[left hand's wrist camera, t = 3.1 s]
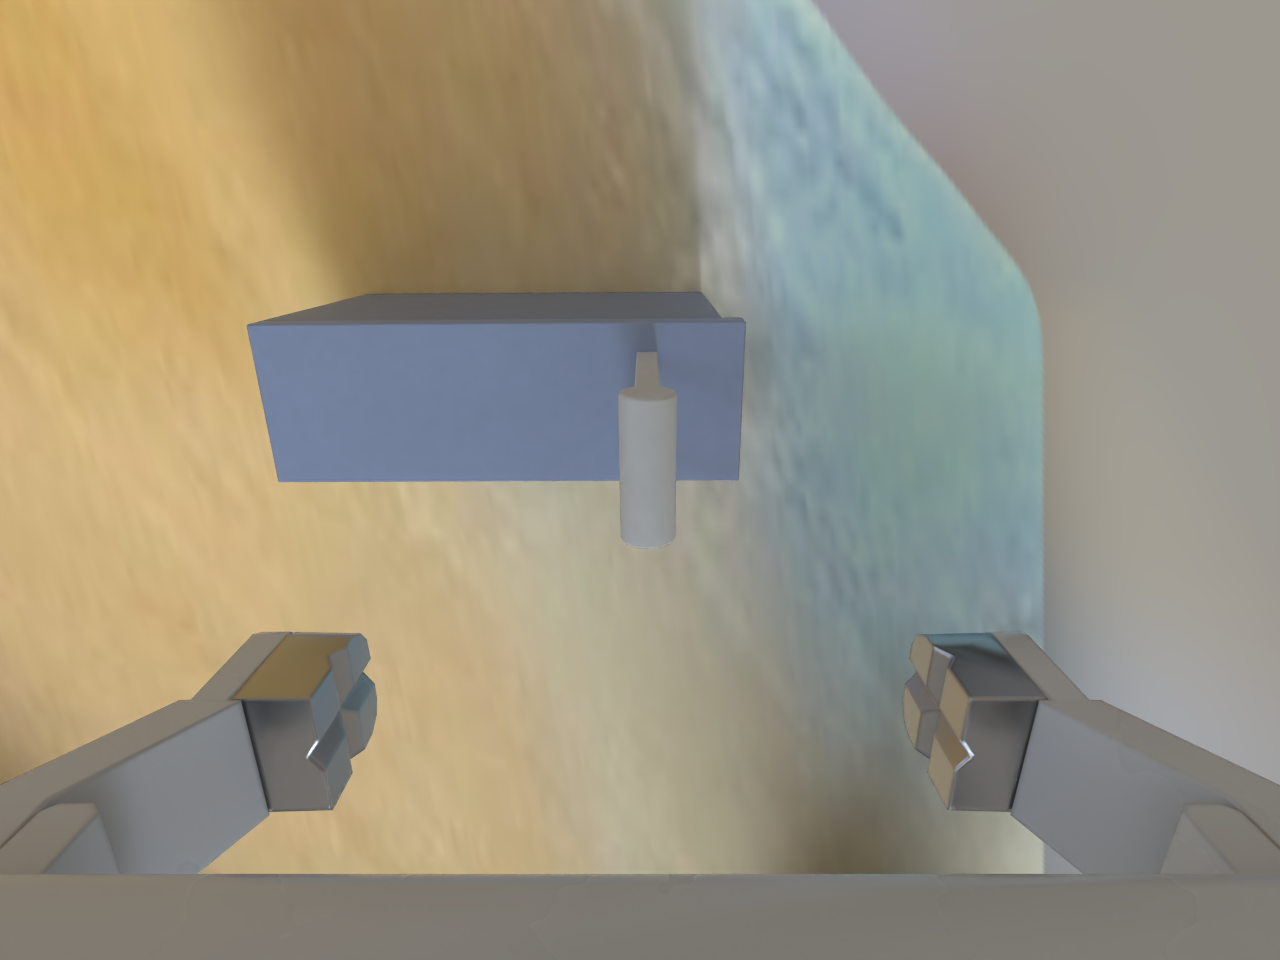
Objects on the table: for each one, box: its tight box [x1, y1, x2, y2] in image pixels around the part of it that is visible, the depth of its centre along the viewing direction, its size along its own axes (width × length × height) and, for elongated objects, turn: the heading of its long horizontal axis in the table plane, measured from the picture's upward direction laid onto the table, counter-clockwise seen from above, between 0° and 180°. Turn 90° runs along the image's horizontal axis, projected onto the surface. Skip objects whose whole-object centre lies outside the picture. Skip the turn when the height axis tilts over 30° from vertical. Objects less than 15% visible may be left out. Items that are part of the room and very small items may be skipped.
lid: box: [247, 318, 746, 549], centre depth 21 cm, size 17×6×8 cm, turn 90°
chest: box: [264, 292, 722, 321], centre depth 29 cm, size 16×6×10 cm, turn 90°
